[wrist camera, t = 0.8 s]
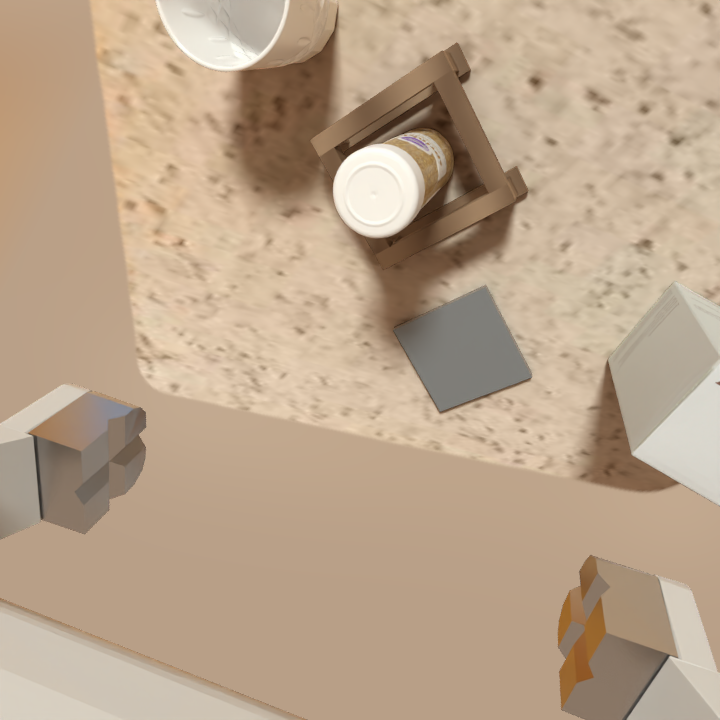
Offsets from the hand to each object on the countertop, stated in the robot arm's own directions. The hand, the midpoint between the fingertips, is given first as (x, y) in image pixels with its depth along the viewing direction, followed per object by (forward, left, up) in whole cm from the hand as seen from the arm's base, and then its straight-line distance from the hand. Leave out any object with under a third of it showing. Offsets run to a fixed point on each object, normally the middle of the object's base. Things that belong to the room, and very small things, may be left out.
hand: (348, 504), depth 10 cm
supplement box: (-7, +16, -35) cm, 39 cm away
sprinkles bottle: (+4, -4, -35) cm, 35 cm away
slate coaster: (+8, +10, -35) cm, 37 cm away
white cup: (+7, -17, -35) cm, 39 cm away
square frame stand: (+4, -4, -35) cm, 35 cm away
